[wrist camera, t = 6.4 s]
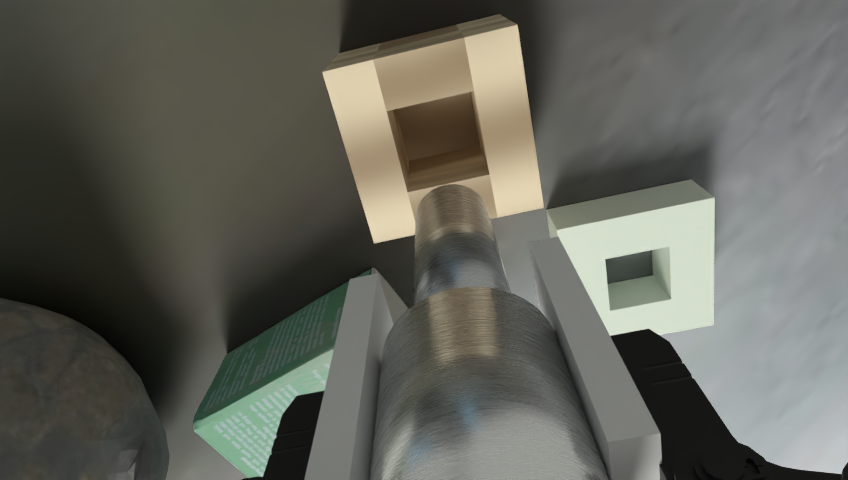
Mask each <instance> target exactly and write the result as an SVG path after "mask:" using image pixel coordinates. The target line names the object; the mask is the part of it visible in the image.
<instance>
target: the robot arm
mask: <svg viewBox="0 0 848 480" xmlns="http://www.w3.org/2000/svg"><path fill="white" fill-rule="evenodd" d="M529 249H530V255H531V261H532V267H533V273H534V279H535V286H536V292H537V298H538V304H539V310H540V311H541V312H542V313H543V315H544V316H545V317H546V318H547V319H548V321H549V322H550V324H551V326H552V327H553V329H554V331H555V334H556V337H557V339H558V342H559V345H560V347H561V350H562V353H563V355H564V358H565V361H566V363H567V366H568V369H569V372H570V374H571V377H572V380H573V382H574V385H575V388H576V390H577V393H578V396H579V398H580V401H581V404H582V406H583V409H584V412H585V414H586V417H587V420H588V423H589V425H590V428H591V431H592V433H593V436H594V439H595V441H596V444H597V447H598V449H599V452H600V455H601V457H602V460H603V463H604V465H605V468H606V471H607V474H608V476H609V479H610V480H848V463H847V464H846V466H845V467H844V469H843V471H842V474H834V473H824V472H815V471H805V470H797V469H792V468H786V467H781V466H778V465H775V464H773V463H770V462H767V461H766V460H765V459H764V458H763V457H762V456H760V455H759V454H758V453H756V452H755V451H754V450H752V449H751V448H750V447H748V446H746V445H743V444H740V443H738V442H737V441H736V439H735V438H734V437H733V436H732V435H731V433H730V432H729V430H728V429H727V427H726V426H725V424H724V423H723V421H722V420H721V418H720V417H719V415H718V414H717V412H716V411H715V409H714V408H713V406H712V405H711V403H710V402H709V400H708V399H707V397H706V396H705V394H704V393H703V391H702V390H701V388H700V387H699V385H698V384H697V382H696V381H695V380H694V379H692V376H691V374H690V372H689V371H688V369H687V368H686V366H685V365H684V364H682V361H681V359H680V357H679V356H678V354H677V353H676V351H675V350H674V348H673V347H672V345H671V344H670V342H669V341H667V340H666V339H664V338H662V337H661V336H659V335H658V334H656V333H655V332H653V331H652V330H650V329H644V330H639V331H633V332H628V333H622V334H617V335H612V336H610V335H609V333H608V331H607V329H606V327H605V325H604V323H603V321H602V320H601V318H600V316H599V314H598V312H597V310H596V308H595V306H594V304H593V302H592V300H591V298H590V296H589V294H588V293H587V291H586V289H585V287H584V285H583V283H582V281H581V279H580V277H579V275H578V273H577V271H576V269H575V268H574V266H573V264H572V262H571V260H570V258H569V256H568V254H567V252H566V250H565V248H564V246H563V244H562V242H561V241H560V239H559V237H553V238H548V239H543V240H538V241H533V242H529ZM392 327H393V321H392V318H391V315H390V311H389V308H388V305H387V302H386V298H385V295H384V292H383V289H382V285H381V282H380V279H379V276H378V273H377V274H372V275H367V276H362V277H357V278H352V279H350V280H349V285H348V289H347V293H346V298H345V302H344V307H343V311H342V315H341V320H340V324H339V329H338V333H337V338H336V342H335V346H334V351H333V355H332V360H331V364H330V368H329V373H328V377H327V382H326V386H325V391H319V392H314V393H309V394H303V395H298V396H296V397H295V398H294V400H293V401H292V402H291V404H290V405H289V406H288V408H287V409H286V410H285V412H284V413H283V414H282V417H281V420H280V423H279V427H278V430H277V433H276V438H275V440H274V443H273V446H272V449H271V455H270V456H269V459H268V462H267V465H266V469H265V472H264V475H263V477H259V476H257V477H251V478H246V479H242V480H370V472H371V461H372V451H373V441H374V431H375V421H376V410H377V400H378V390H379V380H380V370H381V359H382V351H383V347H384V343H385V340H386V338H387V335H388V333H389V331H390V330H391V328H392Z"/></svg>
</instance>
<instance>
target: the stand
mask: <svg viewBox="0 0 848 480" xmlns="http://www.w3.org/2000/svg"><path fill="white" fill-rule="evenodd" d="M546 212H547V219H548V226H549V233H550V238H553V237H559V239H560V241H561V242H562V244H563V246H564V248H565V250H566V252H567V254H568V256H569V258H570V260H571V262H572V264H573V266H574V268H575V269H576V271H577V273H578V275H579V277H580V279H581V281H582V283H583V285H584V287H585V289H586V291H587V293H588V294H589V296H590V298H591V300H592V302H593V304H594V306H595V308H596V310H597V312H598V314H599V316H600V318H601V320H602V321H603V323H604V325H605V327H606V329H607V331H608V333H609V335H610V336H612V335H617V334H622V333H628V332H633V331H639V330H644V329H650V330H652V331H653V332H655V333H656V334H658V335H662V334H667V333H673V332H678V331H683V330H689V329H694V328H700V327H705V326H710V325H714V219H715V197H713V196H712V195H711V194H709V193H708V192H707V191H706V190H704V189H703V188H702V187H701V186H699V185H698V184H697V183H695V182H694V181H693V180H692V179H690V180H685V181H680V182H676V183H671V184H666V185H661V186H657V187H652V188H647V189H642V190H638V191H633V192H628V193H623V194H619V195H614V196H609V197H604V198H600V199H595V200H590V201H585V202H581V203H576V204H571V205H566V206H561V207H557V208H552V209H547V210H546ZM649 250H652V267H653V275H651V276H646V277H641V278H635V279H630V280H625V281H620V282H615V283H610V284H607V273H606V262H605V259H609V258H614V257H619V256H624V255H629V254H634V253H639V252H644V251H649Z"/></svg>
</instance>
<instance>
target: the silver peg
mask: <svg viewBox="0 0 848 480" xmlns="http://www.w3.org/2000/svg"><path fill="white" fill-rule="evenodd" d="M370 480H610V479H609V476H608V474H607V471H606V468H605V465H604V463H603V460H602V457H601V455H600V452H599V449H598V447H597V444H596V441H595V439H594V436H593V433H592V431H591V428H590V425H589V423H588V420H587V417H586V414H585V412H584V409H583V406H582V404H581V401H580V398H579V396H578V393H577V390H576V388H575V385H574V382H573V380H572V377H571V374H570V372H569V369H568V366H567V363H566V361H565V358H564V355H563V353H562V350H561V347H560V345H559V342H558V339H557V337H556V334H555V331H554V329H553V327H552V326H551V324H550V322H549V321H548V319H547V318H546V317H545V316H544V315H543V313H542V312H541V311H540V310H538V309H537V308H536V307H535V306H534V305H532V304H531V303H529V302H528V301H526V300H525V299H523V298H521V297H519V296H517V295H515V294H512V293H511V291H510V287H509V284H508V280H507V277H506V273H505V269H504V266H503V262H502V259H501V255H500V252H499V248H498V245H497V241H496V238H495V234H494V231H493V227H492V223H491V220H490V216H489V213H488V209H487V206H486V204H485V202H484V200H483V199H482V197H481V196H480V195H479V194H478V193H477V192H475V191H474V190H472V189H470V188H469V187H466V186H463V185H457V184H448V185H443V186H439V187H437V188H435V189H433V190H431V191H430V192H429V193H427V194H426V195H425V196H424V197H423V199H422V200H421V201H420V203H419V205H418V207H417V210H416V216H415V262H414V305H413V306H412V307H410V308H409V309H408V310H407V311H406V312H405V313H404V314H402V315H401V316H400V318H399V319H398V320H397V321H396V322H395V324H394V325H393V327H392V328H391V330H390V331H389V333H388V335H387V338H386V340H385V343H384V347H383V351H382V359H381V370H380V380H379V390H378V400H377V410H376V421H375V431H374V441H373V451H372V461H371V472H370Z"/></svg>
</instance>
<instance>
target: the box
mask: <svg viewBox="0 0 848 480" xmlns="http://www.w3.org/2000/svg"><path fill="white" fill-rule="evenodd" d="M377 273H378V276H379V279H380V282H381V285H382V289H383V292H384V295H385V298H386V302H387V305H388V308H389V311H390V315H391V318H392V321H393V325H394V324H395V322H396V321H397V320H398V319H399V318H400V316H401V315H402V314H404V313H405V312H406V311H407V310H408V309H409V308H408V307H407V306H406V304H405V303H404V302H403V301H402V299H401V298H400V297H399V296H398V294H397V293H396V292H395V291H394V289H393V288H392V287H391V286H390V284H389V283H388V282H387V281H386V280H385V279H384V277H383V276H382V275H381V274H380V273H379V272H378V271H377V270H376V269H374V268H371V269H370V270H368V271H366V272H364V273H362V274H361V275H359V276H357V277H362V276H367V275H372V274H377ZM357 277H355V278H357ZM348 285H349V281H348V282H346V283H345V284H343V285H341V286H339V287H338V288H336V289H334V290H332V291H331V292H329V293H327V294H325V295H324V296H322V297H320V298H318V299H317V300H315V301H313V302H312V303H310V304H308V305H307V306H305V307H303V308H302V309H300V310H299V311H297V312H295V313H294V314H292V315H290V316H289V317H287V318H286V319H284V320H282V321H281V322H279V323H277V324H276V325H274V326H272V327H271V328H269V329H268V330H266V331H264V332H263V333H261V334H260V335H258V336H256V337H255V338H253V339H251V340H250V341H248V342H246V343H245V344H243V345H241V346H239V347H238V348H236V349H234V350H233V351H231V352H229V353H228V354H227V355H226V356H225V358H224V360H223V362H222V364H221V366H220V368H219V370H218V372H217V374H216V376H215V378H214V380H213V382H212V384H211V386H210V388H209V390H208V391H207V393H206V395H205V397H204V399H203V401H202V403H201V404H200V406H199V408H198V410H197V412H196V414H195V417H194V420H193V424H194V431H195V432H196V433H197V434H198V435H200V436H201V437H202V438H203V439H204V440H205V441H206V442H207V443H209V444H210V445H211V446H212V447H213V448H214V449H215V450H216V451H218V452H219V453H220V454H221V455H222V456H223V457H225V458H226V459H227V460H228V461H229V462H230V463H231V464H233V465H234V466H235V467H236V468H237V469H239V470H240V471H241V472H242V473H243V474H245V475H246V476H247V477H248V478H251V477H257V476H259V477H263V475H264V472H265V469H266V465H267V462H268V459H269V456H270V455H271V449H272V446H273V443H274V440H275V438H276V433H277V430H278V427H279V423H280V420H281V417H282V414H283V413H284V412H285V410H286V409H287V408H288V406H289V405H290V404H291V402H292V401H293V400H294V398H295V397H296V396H298V395H303V394H309V393H314V392H319V391H325V386H326V382H327V377H328V373H329V368H330V364H331V360H332V355H333V351H334V346H335V342H336V338H337V333H338V329H339V324H340V320H341V315H342V311H343V307H344V302H345V298H346V293H347V289H348Z"/></svg>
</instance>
